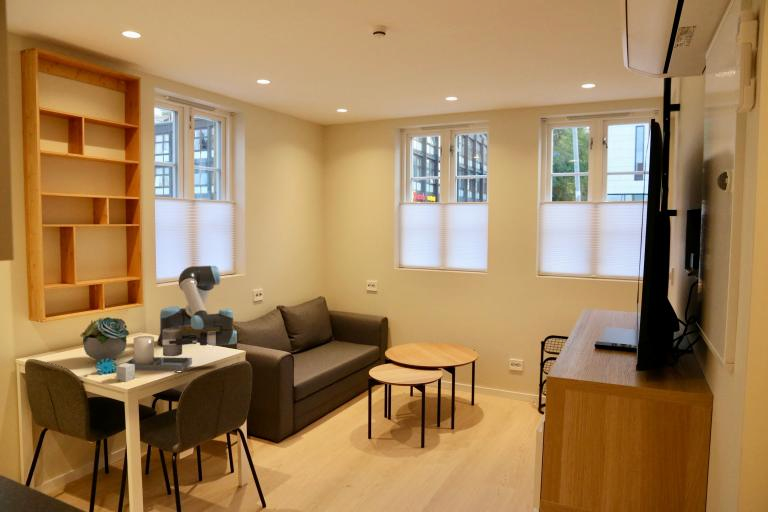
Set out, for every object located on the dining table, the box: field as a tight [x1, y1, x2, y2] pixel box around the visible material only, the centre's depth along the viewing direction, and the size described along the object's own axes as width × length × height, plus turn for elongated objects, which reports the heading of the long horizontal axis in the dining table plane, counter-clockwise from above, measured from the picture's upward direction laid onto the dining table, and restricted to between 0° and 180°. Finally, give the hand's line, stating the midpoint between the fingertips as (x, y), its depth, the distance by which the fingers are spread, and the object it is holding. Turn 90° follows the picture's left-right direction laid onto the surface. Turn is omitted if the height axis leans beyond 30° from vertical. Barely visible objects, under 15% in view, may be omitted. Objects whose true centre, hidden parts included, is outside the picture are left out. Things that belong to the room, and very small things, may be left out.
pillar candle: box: [162, 327, 183, 357], centre depth 283 cm, size 10×10×15 cm
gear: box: [95, 358, 117, 376], centre depth 271 cm, size 11×6×10 cm
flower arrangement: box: [79, 316, 130, 364], centre depth 293 cm, size 25×25×24 cm
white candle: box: [133, 335, 155, 365], centre depth 283 cm, size 10×10×15 cm
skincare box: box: [115, 362, 136, 382], centre depth 263 cm, size 6×6×7 cm
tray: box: [125, 356, 193, 373], centre depth 284 cm, size 16×31×4 cm, turn 93°
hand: (163, 340), depth 282 cm, fingers closed on pillar candle, 9 cm apart
